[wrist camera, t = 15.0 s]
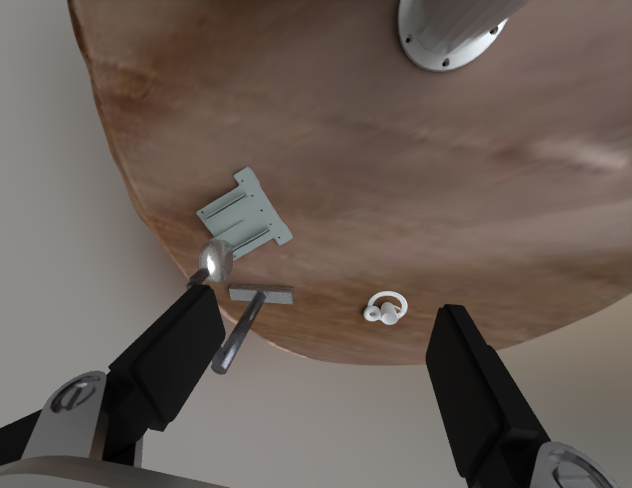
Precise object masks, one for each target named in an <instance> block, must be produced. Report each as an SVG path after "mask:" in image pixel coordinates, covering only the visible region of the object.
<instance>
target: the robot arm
mask: <svg viewBox="0 0 632 488" xmlns="http://www.w3.org/2000/svg"><path fill="white" fill-rule="evenodd" d="M530 1H531V0H400V2H399V7H398V17H397V24H398V34H399V39H400V43H401V45H402V47H403V50H404V52H405V54H406V55H407V56H408V58H409V59H410V60H411V61H412V62H413V63H414V64H415V65H417V66H418V67H420V68H422V69H424V70H427V71H431V72H447V71H451V70H455V69H457V68H460V67H462V66H464V65H466V64H468V63H469V62H471V61H473V60H474V59H475V58H477V57H478V56H479V55H480V54H482V53H483V52H484V51H485V50H486V49H487V48H488V47H489V46H490V45H491V44H492V43H493V42H494V40H495V39H496V38H497V36H498V35H499V34H500V32H501V31H502V29H503V27H504V25H505V24H506V22H507V20H508V18H509V17H510V16H511V15H512V14H514V13H515V12H516V11H518V10H519V9H521V8H522V7H523V6H525V5H526V4H527V3H529V2H530ZM490 31H492V35H491V34H490ZM406 39H409V40H410V42H409V43H407V42H406ZM443 62H444V63H445V66H444V67H443V66H442V63H443ZM225 335H226V333H225V329H224V325H223V321H222V318H221V314H220V311H219V307H218V304H217V300H216V297H215V293H214V290H213V289H211V287H210V286H209V285H202V284H194V285H193V286H192V287H191V288H190V289H189V290H188V291H186V293H184V294H183V295H182V296H181V297H180V298H179V299H178V300H177V301H176V302H175V303H174V304H173V305H172V306H171V307H170V308H169V309H168V310H167V311H166V312H165V313H164V314H163V315H161V317H159V318H158V319H157V320H156V321H155V322H154V323H153V324H152V325H151V326H150V327H149V328H148V329H147V330H146V331H145V332H144V333H143V334H142V335H141V336H140V337H139V338H138V339H136V340H135V342H133V343H132V344H131V345H130V346H129V347H128V348H127V349H126V350H125V351H124V352H123V353H122V354H121V355H120V356H119V357H118V358H117V359H116V360H115V361H114V362H113V363H112V364H110V365H109V366H108V367H109V369H110V370H111V371H110V372H109V373H108V374H107V375H106V374H105V373H104V372H101V371H91V372H87V373H84V374H81V375H79V376H77V377H75V378H73V379H72V380H70V381H68V382H67V383H65V384H64V385H62V386H61V387H60V388H59V389H58V390H57V391H55V393H53V394H52V396H51V397H50V398H49V399H48V400H47V402H46V404H45V405H44V407H43V409H41V410H39V411H37V412H35V413H32V414H30V415H28V416H26V417H24V418H21V419H19V420H17V421H15V422H13V423H11V424H8V425H6V426H4V427H2V428H0V488H229V487H224V486H220V485H215V484H211V483H206V482H202V481H197V480H192V479H188V478H183V477H179V476H174V475H170V474H165V473H161V472H156V471H151V470H147V469H142V468H141V462H142V447H143V435H144V433H145V432H146V430H147V429H148V428H149V429H151V430H157V431H162V432H163V431H164V430H165V428H166V427H167V425H168V423H169V422H172V421H173V420H174V419H175V418H176V416H177V415H178V413H179V411H180V410H181V408H182V406H183V405H184V403H185V402H186V400H187V399H188V397H189V395H190V394H191V392H192V391H193V389H194V387H195V386H196V384H197V383H198V381H199V379H200V378H201V376H202V375H203V373H204V371H205V370H206V368H207V366H208V365H209V363H210V362H211V360H212V359H213V357H214V355H215V354H216V352H217V351H218V349H219V347H220V346H221V344H222V343H223V341H224V339H225ZM426 365H427V368H428V371H429V375H430V379H431V381H432V385H433V389H434V392H435V396H436V399H437V402H438V406H439V409H440V413H441V416H442V419H443V423H444V426H445V430H446V433H447V437H448V440H449V443H450V447H451V450H452V454H453V457H454V460H455V463H456V467H457V470H458V472H459V475H460V476H461V477H463V478H465V479H466V482H467V485H468V488H620V486H619V485H618V484H617V483H616V482H615V480H614V479H613V478H612V477H611V476H610V475H609V474H608V473H607V472H606V471H605V470H604V469H603V468H602V467H601V466H600V465H599V464H598V463H596V462H595V461H594V460H592V459H591V458H589V457H588V456H587V455H586V454H584V453H582V452H581V451H579V450H577V449H575V448H573V447H571V446H569V445H566V444H563V443H560V442H551V440H550V438H549V437H548V435H547V433H546V432H545V430H544V428H543V427H542V425H541V424H540V422H539V420H538V419H537V417H536V415H535V414H534V413H533V411H532V409H531V407H530V406H529V404H528V403H527V401H526V399H525V398H524V396H523V395H522V393H521V391H520V390H519V388H518V387H517V385H516V383H515V382H514V380H513V378H512V377H511V375H510V374H509V372H508V370H507V369H506V367H505V366H504V364H503V362H502V361H501V359H500V358H499V356H498V354H497V353H496V351H495V350H494V349H493V347H491V346H490V345H487V344H486V342H485V340H484V339H483V337H482V335H481V334H480V332H479V330H478V329H477V327H476V325H475V324H474V322H473V320H472V319H471V317H470V315H469V314H468V312H467V310H466V309H465V307H464V306H462V305H452V304H445V305H444V307H443V308H439V309H438V313H437V316H436V320H435V323H434V327H433V331H432V334H431V338H430V342H429V345H428V349H427V352H426Z"/></svg>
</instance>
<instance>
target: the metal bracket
mask: <svg viewBox="0 0 632 488" xmlns="http://www.w3.org/2000/svg"><path fill="white" fill-rule="evenodd" d="M234 178H235V179H236V181H237V182H238V184H239V186H238V187H237V188H235V189H234V190H232V191H230V192H229V193H227V194H225V195H224V196H222V197H220V198H219V199H217V200H215V201H214V202H212V203H210V204H209V205H207V206H205V207H204V208H202V209H200V210H199V211H197V215H198V216H199V217H200V219H201V220H202V221H203V223H204V224H205V225H206V226H207V228H208V229H209V230H210V232H211V233H212V234H213V236H214V238H212V239H211V240H214V239H215V238H216V240H226V241H227V242H228V243H229V244H230V245H231V244H232V245H234V246H235V247H234V249H233V250H232V251H233V260H236V259H237V258H239V257H241V256H243V255H244V254H246V253H248V252H250V251H251V250H253V249H255V248H257V247H258V246H260V245H262V244H264V243H265V242H267V241H269V240H270V239H272V238H274V239H275V240H276V242H277V243H278V245H282V244H284V243H286V242H288V241H289V240H291V239H292V238H293V236H292V234H291V232H290V231H289V229H288V227H287V226H286V224H285V223H283V222H282V220H281V219H280V217H279V216H278V214H277V212H276V211H275V209H274V208H273V206H272V204H271V203H270V201H269V200H268V198H267V197H266V195H265V193H264V192H263V190H262V189H261V187H260V185H259V184H260V183H259V181H258V179H257V178H256V176H255V175H254V173H253V171H252V170H251V169H250V168H249V167H246V168H245V169H243V170H241V171H240V172H238V173H236V174H235V175H234ZM241 180H243V182H242V181H241ZM251 195H253V197H251ZM261 209H262V210H263V211H261ZM201 211H203V212H204V213H203V214H202V213H201ZM270 223H271V224H272V225H270ZM278 237H280V238H278ZM234 255H236V257H234Z"/></svg>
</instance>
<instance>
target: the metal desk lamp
mask: <svg viewBox="0 0 632 488" xmlns="http://www.w3.org/2000/svg"><path fill="white" fill-rule="evenodd" d="M234 247H235V246H234V245H232V244H231V245H230V244H229V243H228V242H227V241H226V240H209V241H207V242H206V243H205V244H204V246H203V247H202V249H201V252H200V255H199V271H197V272H196V273H195V274H194V275H193V276H192V277H191V278H190V279H189V280H190V282H189V283H188V284H187V285H186V287H187V290H189V289H190V288H191V287H192V286H193V285H194V284H202V282H203V281H204V280H206V281H212V282H223V281H224V280H226V279H227V277H228V276H229V274H230V272H231V270H232V266H233V251H232V250H233V249H234ZM229 292H230V296H231V300H240V301H251V302H250V304H249V305H248V307H247V308H246V310H245V312H244V313H243V315H242V317H241V318H240V320H239V322H238V323H237V325H236V326H235V328H234V330H233V331H232V333H231V335H230V336H229V338H228V340H227V341H226V343H225V344H224V346H223V348H222V347H221V346H220V347H219V349H218V351H217V352H216V354H215V355H214V357H213V359H212V363H213V364H212V366H211V368H212V370H213V371H214V372H215V373H218V374H225V373H226V372H227V370H228V368H229V366H230V364H231V362H232V361H233V359H234V357H235V355H236V353H237V351H238V349H239V348H240V346H241V344H242V341H243V340H244V338H245V336H246V334H247V332H248V331H249V329H250V327H251V325H252V323H253V321H254V319H255V318H256V316H257V314H258V312H259V310H260V308H261V306H262V304H263V303H264V302H268V303H282V304H293V302H294V299H295V295H294V287H283V286H267V285H250V284H234V283H233V284H232V285H231V287H230V288H229Z"/></svg>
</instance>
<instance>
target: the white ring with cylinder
mask: <svg viewBox="0 0 632 488" xmlns="http://www.w3.org/2000/svg"><path fill="white" fill-rule="evenodd" d="M384 295H390V296H394V297H396V298H398V299H399V300H400V301H401V304H402V309H400V308H399V307H397V306H394V305H392V304H391V303H390V302H385V303H383V304H382V306H381V310H380V309H379V308H378V307H376V306H373V303H374V301H375V300H376V299H377V298H379V297H381V296H384ZM395 308H397V309H399V310H400V312H399V313H398V314H397V313H396V310H395ZM406 310H407V302H406V300H405V298H404V297H403V296H401V295H400V294H398V293H396V292H392V291H383V292H379V293H377V294H375V295H374V296H372V297H371V299H370V300H369V302H368V307H367V308H366V309H365V310H364V317H365V319H366V320H368V321H376V320H382V322H383V323H385V324H388V325H392V324H395V323H396V322H397V321H398V319H399V318H401V317H402V316H403V315H404V314H405V312H406ZM370 314H371V315H370Z"/></svg>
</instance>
